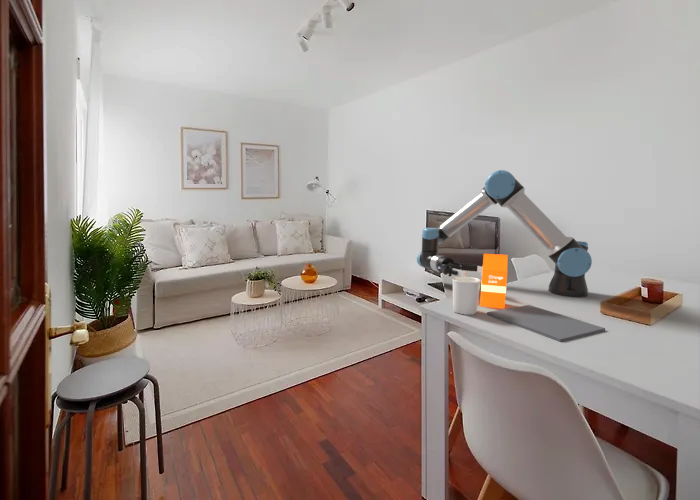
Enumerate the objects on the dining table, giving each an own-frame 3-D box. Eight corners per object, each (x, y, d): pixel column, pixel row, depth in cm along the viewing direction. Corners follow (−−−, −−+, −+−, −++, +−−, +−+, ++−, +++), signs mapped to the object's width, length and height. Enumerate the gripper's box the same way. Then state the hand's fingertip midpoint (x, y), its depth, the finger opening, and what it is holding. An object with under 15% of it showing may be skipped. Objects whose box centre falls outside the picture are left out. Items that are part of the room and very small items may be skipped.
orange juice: (504, 308, 143) (508, 256, 140) (480, 306, 145) (483, 255, 142) (503, 303, 150) (507, 253, 147) (480, 301, 153) (483, 252, 150)
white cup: (445, 309, 141) (446, 277, 140) (466, 306, 145) (468, 275, 143) (462, 316, 132) (464, 283, 131) (484, 313, 136) (486, 281, 134)
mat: (529, 306, 145) (529, 304, 145) (604, 330, 121) (605, 328, 121) (487, 314, 136) (487, 312, 136) (560, 341, 111) (560, 339, 111)
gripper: (463, 270, 178) (498, 279, 159) (419, 274, 167) (452, 285, 148) (464, 254, 177) (500, 262, 158) (420, 257, 166) (453, 266, 147)
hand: (477, 273), depth 153 cm, fingers open, 13 cm apart
